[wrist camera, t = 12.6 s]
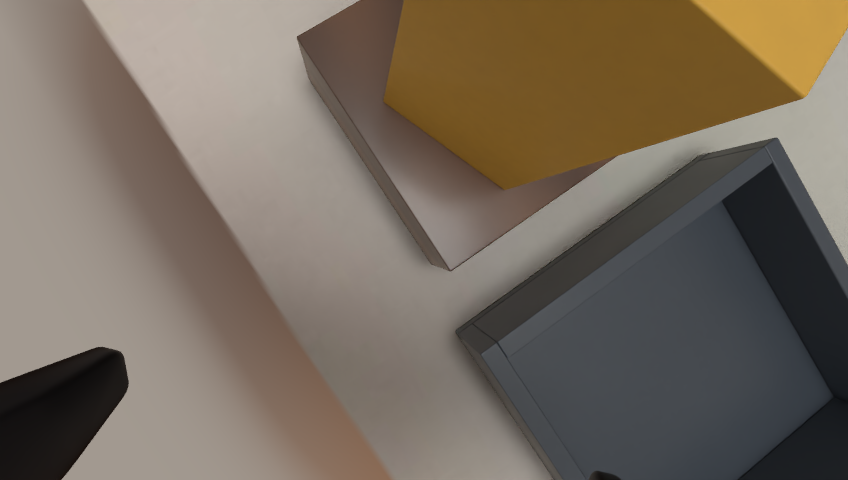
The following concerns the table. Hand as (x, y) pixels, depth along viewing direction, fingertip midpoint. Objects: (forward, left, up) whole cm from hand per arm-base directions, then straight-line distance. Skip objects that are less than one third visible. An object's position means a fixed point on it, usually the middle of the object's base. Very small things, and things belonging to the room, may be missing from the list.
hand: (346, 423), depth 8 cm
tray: (+11, -11, -12) cm, 20 cm away
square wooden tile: (+9, +5, -11) cm, 15 cm away
